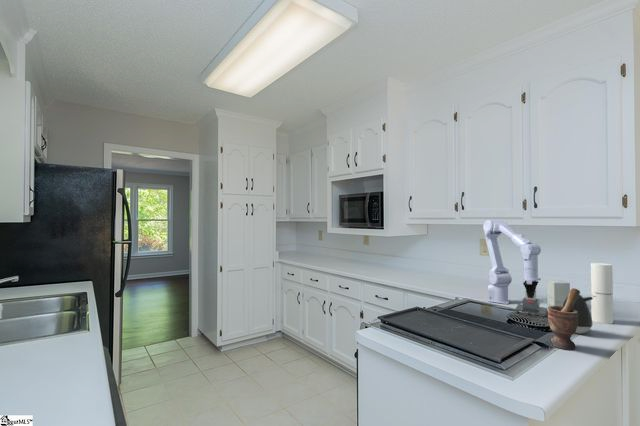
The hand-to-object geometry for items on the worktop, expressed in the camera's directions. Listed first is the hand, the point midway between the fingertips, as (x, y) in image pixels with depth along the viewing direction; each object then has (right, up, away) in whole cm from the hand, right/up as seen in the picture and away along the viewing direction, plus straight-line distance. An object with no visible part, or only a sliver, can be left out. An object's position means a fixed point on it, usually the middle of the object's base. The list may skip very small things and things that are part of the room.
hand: (531, 296), depth 157 cm
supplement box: (+20, -8, +10) cm, 24 cm away
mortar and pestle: (-14, -7, -40) cm, 43 cm away
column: (0, -6, 0) cm, 6 cm away
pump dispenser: (+1, -7, -27) cm, 28 cm away
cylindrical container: (+22, -7, -14) cm, 27 cm away
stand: (0, -7, 0) cm, 7 cm away
